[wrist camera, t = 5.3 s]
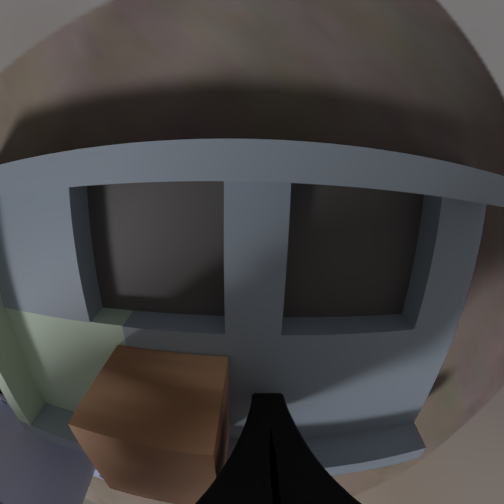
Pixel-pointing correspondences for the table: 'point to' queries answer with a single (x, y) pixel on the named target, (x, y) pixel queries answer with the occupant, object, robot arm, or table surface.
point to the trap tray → (242, 279)
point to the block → (157, 423)
